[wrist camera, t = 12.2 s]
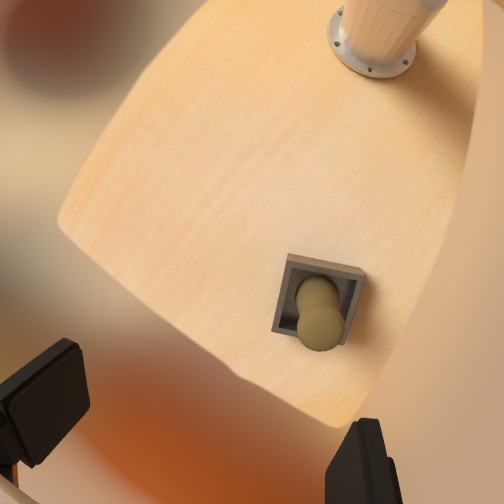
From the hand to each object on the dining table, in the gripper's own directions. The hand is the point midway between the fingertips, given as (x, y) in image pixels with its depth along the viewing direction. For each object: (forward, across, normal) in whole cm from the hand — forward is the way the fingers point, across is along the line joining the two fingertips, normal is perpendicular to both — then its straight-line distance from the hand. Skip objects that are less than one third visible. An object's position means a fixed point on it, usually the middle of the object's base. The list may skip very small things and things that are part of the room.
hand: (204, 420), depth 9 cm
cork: (+32, -7, +7) cm, 34 cm away
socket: (+33, -6, +7) cm, 35 cm away
